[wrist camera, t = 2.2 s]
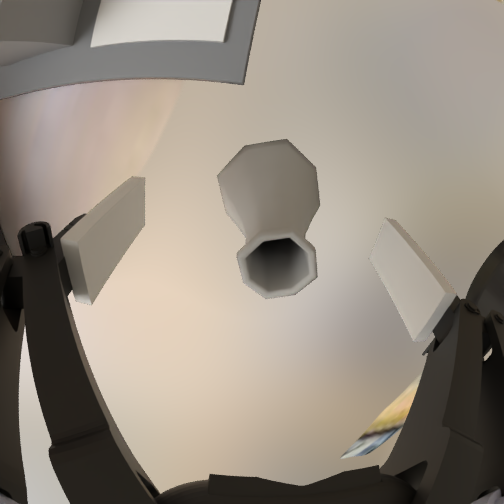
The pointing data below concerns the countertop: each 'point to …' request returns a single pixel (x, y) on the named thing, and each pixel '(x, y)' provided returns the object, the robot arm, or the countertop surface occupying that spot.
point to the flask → (272, 215)
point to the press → (122, 41)
